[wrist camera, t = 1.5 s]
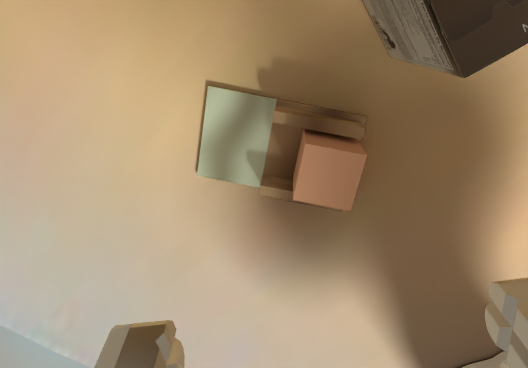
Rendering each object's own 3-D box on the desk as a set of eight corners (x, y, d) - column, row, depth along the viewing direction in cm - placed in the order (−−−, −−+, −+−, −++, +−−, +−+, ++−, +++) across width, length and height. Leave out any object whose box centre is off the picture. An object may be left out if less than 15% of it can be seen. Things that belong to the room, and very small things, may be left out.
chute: (366, 116, 36) (373, 124, 33) (342, 202, 39) (346, 217, 36) (209, 85, 36) (200, 90, 33) (198, 173, 39) (189, 186, 36)
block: (356, 137, 36) (367, 155, 31) (342, 185, 38) (350, 211, 32) (304, 126, 36) (305, 143, 31) (293, 175, 38) (292, 199, 32)
